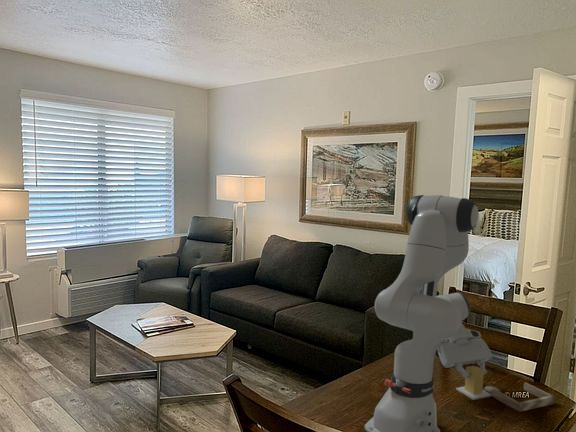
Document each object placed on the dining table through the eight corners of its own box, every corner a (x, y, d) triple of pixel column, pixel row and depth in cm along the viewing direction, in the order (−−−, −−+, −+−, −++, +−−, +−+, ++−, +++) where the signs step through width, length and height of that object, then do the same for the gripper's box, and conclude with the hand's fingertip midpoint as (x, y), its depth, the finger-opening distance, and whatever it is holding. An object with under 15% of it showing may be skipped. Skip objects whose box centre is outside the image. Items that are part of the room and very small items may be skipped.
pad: (473, 400, 148) (473, 398, 147) (455, 389, 155) (456, 387, 155) (491, 396, 151) (491, 394, 150) (473, 386, 158) (473, 384, 158)
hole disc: (480, 388, 156) (480, 387, 156) (466, 383, 160) (466, 382, 160) (486, 384, 160) (486, 383, 160) (473, 379, 163) (473, 379, 163)
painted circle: (496, 394, 152) (496, 394, 152) (481, 389, 155) (481, 388, 155) (502, 390, 155) (502, 389, 155) (487, 385, 159) (487, 384, 159)
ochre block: (473, 394, 150) (474, 371, 150) (464, 389, 154) (465, 367, 153) (482, 392, 152) (483, 370, 151) (473, 387, 155) (474, 365, 155)
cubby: (519, 411, 140) (519, 404, 140) (491, 396, 150) (492, 389, 150) (554, 403, 146) (555, 396, 146) (525, 389, 157) (526, 382, 156)
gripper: (438, 337, 154) (457, 376, 146) (482, 331, 162) (503, 368, 153) (429, 345, 158) (446, 383, 150) (472, 339, 166) (492, 375, 158)
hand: (475, 375), depth 152 cm, fingers open, 6 cm apart
